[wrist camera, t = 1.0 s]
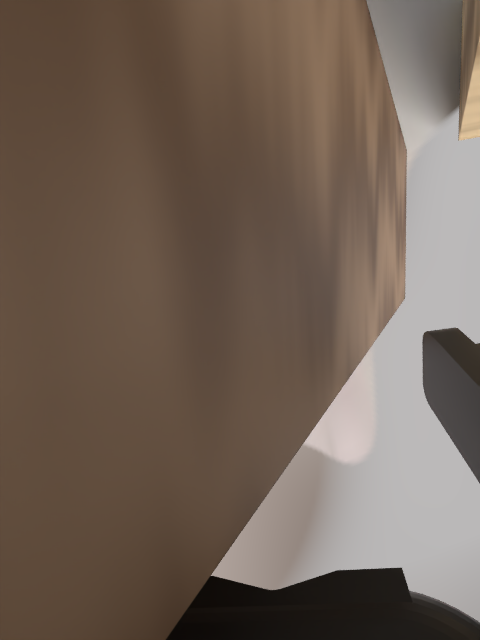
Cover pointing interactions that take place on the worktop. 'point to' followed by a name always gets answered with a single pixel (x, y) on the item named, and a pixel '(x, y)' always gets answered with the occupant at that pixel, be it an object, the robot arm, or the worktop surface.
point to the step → (470, 71)
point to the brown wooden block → (176, 284)
